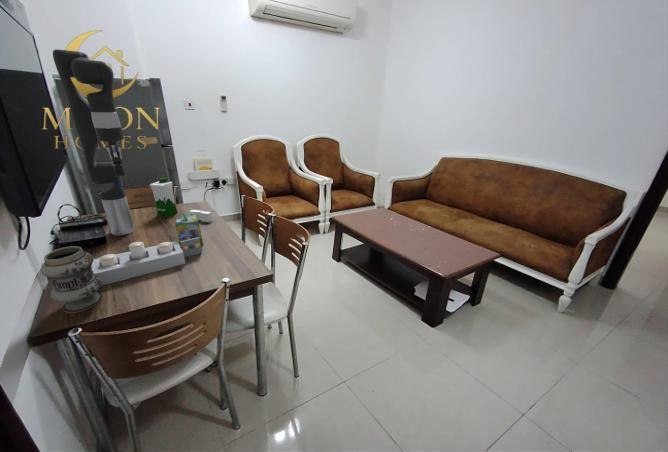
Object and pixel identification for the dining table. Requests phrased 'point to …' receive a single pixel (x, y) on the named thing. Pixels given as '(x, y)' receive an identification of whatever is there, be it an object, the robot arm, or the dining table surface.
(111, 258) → the button
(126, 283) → the dining table surface
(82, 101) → the robot arm
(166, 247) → the button
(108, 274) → the console
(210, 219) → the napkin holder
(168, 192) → the milk carton
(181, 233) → the chalk box
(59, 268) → the apothecary jar
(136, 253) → the button
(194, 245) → the card
